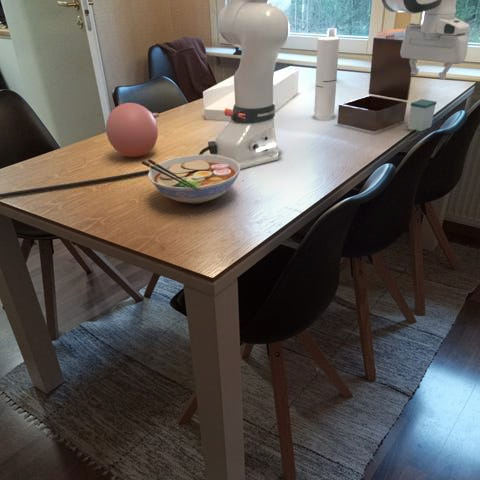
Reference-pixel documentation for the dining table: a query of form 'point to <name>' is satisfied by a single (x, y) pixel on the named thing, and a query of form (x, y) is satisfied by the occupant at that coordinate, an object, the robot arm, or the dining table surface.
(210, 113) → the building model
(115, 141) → the balloon
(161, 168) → the ramen bowl
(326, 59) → the cylindrical container
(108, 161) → the dining table surface
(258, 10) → the robot arm
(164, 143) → the dining table surface
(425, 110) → the white teal-lidded container
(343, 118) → the chest
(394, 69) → the lid
